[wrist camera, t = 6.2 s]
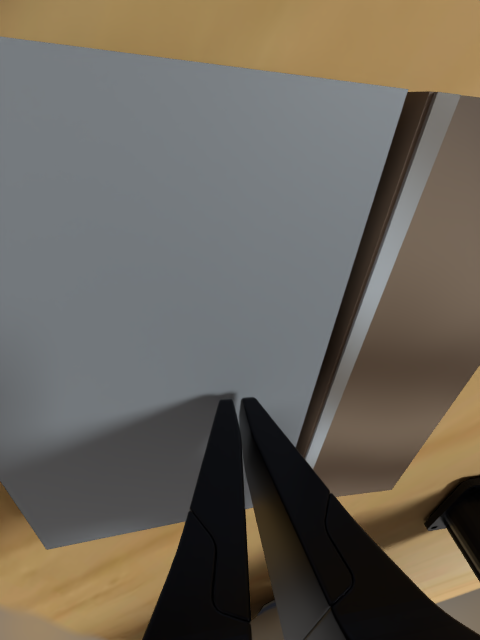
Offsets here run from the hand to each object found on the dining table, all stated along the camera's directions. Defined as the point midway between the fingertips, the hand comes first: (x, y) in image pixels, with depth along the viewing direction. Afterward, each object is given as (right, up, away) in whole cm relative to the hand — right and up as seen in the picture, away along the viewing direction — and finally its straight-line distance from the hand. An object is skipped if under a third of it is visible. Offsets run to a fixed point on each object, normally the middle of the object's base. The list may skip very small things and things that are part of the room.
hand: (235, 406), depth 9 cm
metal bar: (+6, +1, +3) cm, 6 cm away
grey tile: (-3, +1, +1) cm, 3 cm away
